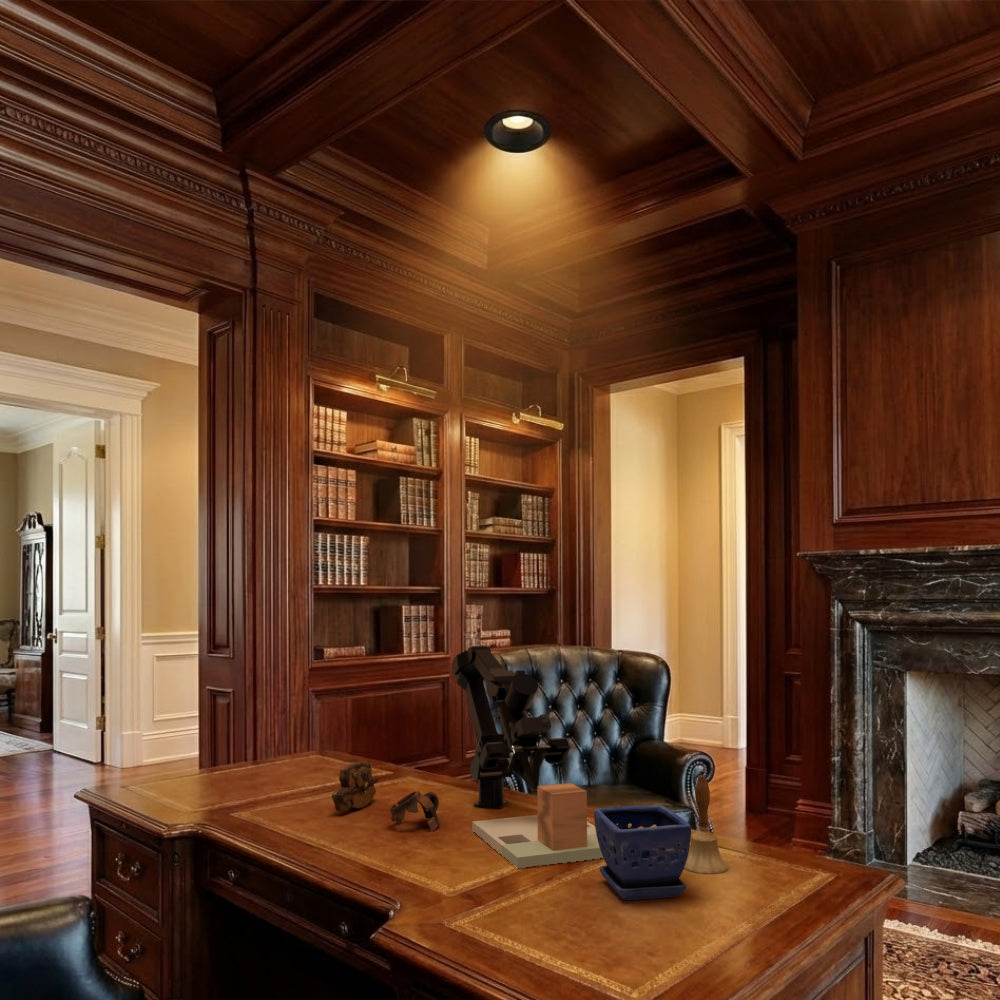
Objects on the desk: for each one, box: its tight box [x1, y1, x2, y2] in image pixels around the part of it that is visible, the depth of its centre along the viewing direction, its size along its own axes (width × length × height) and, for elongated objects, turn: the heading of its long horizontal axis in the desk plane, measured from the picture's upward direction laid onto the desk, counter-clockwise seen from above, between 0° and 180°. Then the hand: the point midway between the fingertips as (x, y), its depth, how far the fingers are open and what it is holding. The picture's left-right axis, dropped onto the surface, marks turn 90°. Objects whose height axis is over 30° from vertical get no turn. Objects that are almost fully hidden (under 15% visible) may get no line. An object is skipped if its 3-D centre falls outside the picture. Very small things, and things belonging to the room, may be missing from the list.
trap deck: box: [471, 814, 596, 856], centre depth 172 cm, size 17×22×2 cm
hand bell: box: [684, 774, 729, 875], centre depth 155 cm, size 8×8×16 cm
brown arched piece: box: [389, 790, 440, 832], centre depth 181 cm, size 12×10×8 cm
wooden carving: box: [331, 761, 379, 812], centre depth 195 cm, size 16×5×10 cm, turn 162°
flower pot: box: [593, 804, 692, 901], centre depth 144 cm, size 13×13×12 cm
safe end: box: [501, 834, 604, 869], centre depth 161 cm, size 8×22×2 cm, turn 111°
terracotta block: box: [536, 782, 588, 851], centre depth 162 cm, size 7×7×10 cm
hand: (536, 789), depth 174 cm, fingers closed
